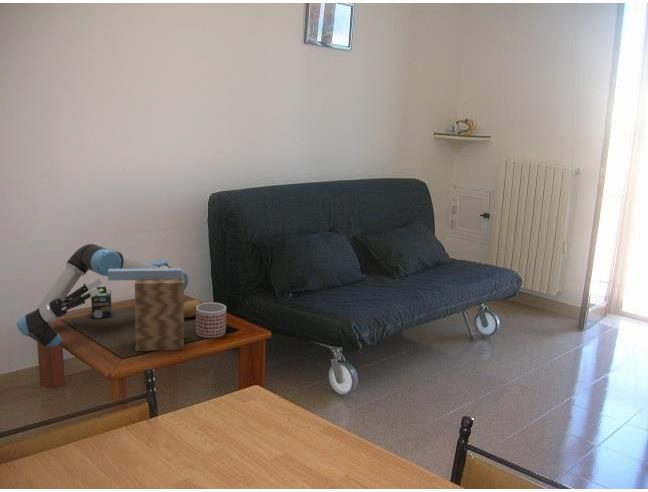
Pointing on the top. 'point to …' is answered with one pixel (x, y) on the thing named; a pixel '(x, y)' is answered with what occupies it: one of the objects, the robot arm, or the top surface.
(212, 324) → the planter
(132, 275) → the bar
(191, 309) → the potato
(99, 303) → the chalk box
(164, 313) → the stand
